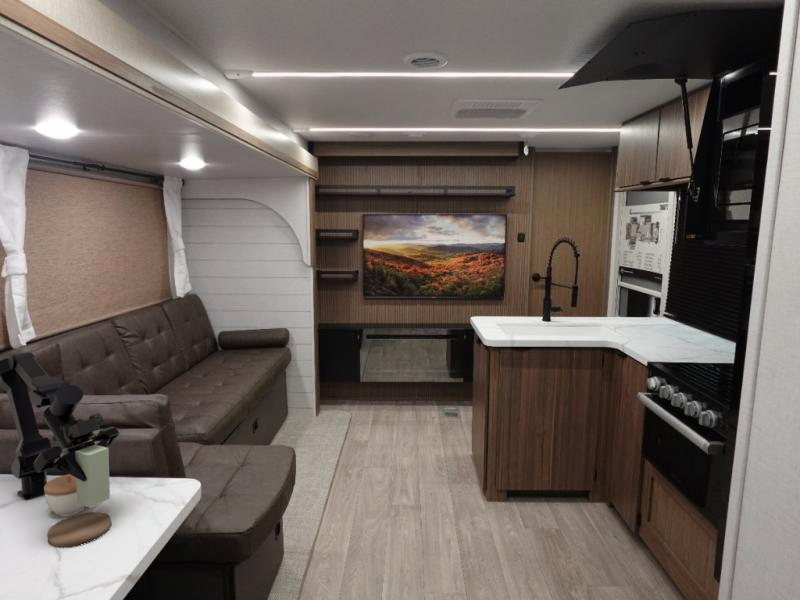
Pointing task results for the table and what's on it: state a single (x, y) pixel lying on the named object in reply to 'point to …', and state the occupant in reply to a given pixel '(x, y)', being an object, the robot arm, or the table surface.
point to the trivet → (79, 529)
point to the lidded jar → (62, 495)
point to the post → (93, 475)
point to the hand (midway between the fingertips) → (96, 475)
